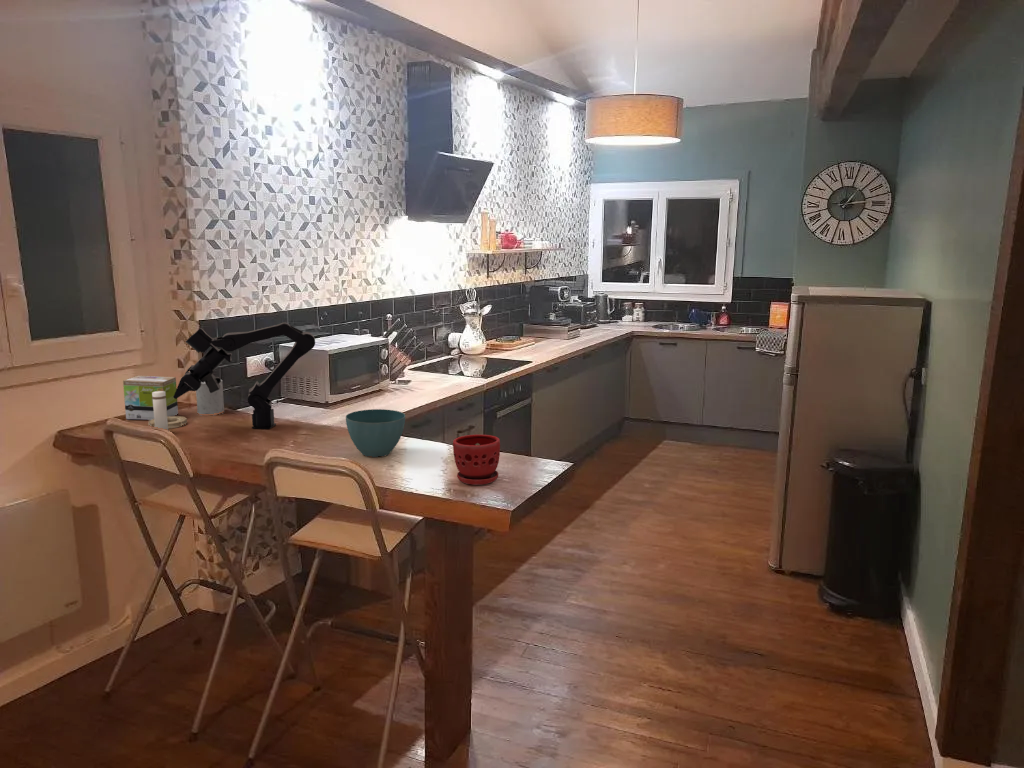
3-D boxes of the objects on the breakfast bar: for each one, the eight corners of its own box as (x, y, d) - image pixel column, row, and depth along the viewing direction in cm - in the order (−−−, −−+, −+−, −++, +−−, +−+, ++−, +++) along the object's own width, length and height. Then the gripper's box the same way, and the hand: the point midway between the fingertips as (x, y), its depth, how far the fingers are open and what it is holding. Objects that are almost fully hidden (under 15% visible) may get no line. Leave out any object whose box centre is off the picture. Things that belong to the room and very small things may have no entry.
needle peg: (170, 431, 253) (167, 391, 250) (164, 434, 249) (161, 393, 246) (159, 430, 253) (156, 390, 250) (152, 433, 249) (149, 393, 246)
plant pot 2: (499, 472, 214) (499, 433, 211) (500, 488, 201) (500, 445, 198) (454, 472, 213) (454, 432, 211) (452, 487, 200) (452, 445, 198)
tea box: (125, 420, 267) (121, 380, 264) (140, 413, 276) (136, 375, 273) (166, 421, 266) (162, 381, 263) (179, 414, 276) (176, 375, 273)
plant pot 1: (380, 442, 243) (379, 406, 241) (417, 453, 232) (417, 415, 229) (334, 453, 230) (333, 415, 227) (372, 466, 218) (371, 425, 216)
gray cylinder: (208, 417, 273) (206, 384, 271) (191, 413, 278) (189, 381, 275) (229, 411, 281) (228, 380, 279) (213, 408, 286) (211, 377, 283)
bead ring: (192, 421, 267) (192, 416, 266) (175, 429, 255) (175, 424, 255) (160, 419, 267) (160, 415, 267) (142, 428, 256) (142, 423, 255)
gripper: (226, 383, 245) (192, 417, 244) (230, 373, 262) (198, 404, 261) (199, 360, 241) (164, 394, 240) (205, 351, 258) (173, 383, 257)
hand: (176, 395), depth 250 cm, fingers open, 9 cm apart
